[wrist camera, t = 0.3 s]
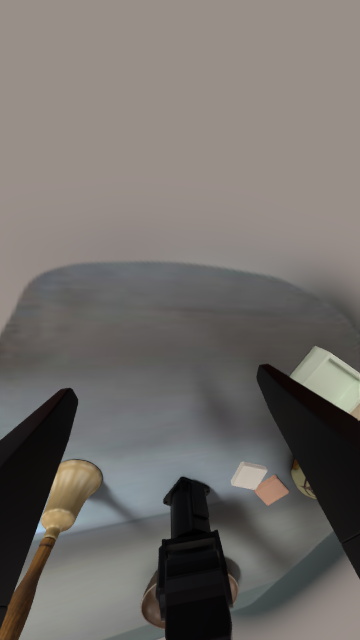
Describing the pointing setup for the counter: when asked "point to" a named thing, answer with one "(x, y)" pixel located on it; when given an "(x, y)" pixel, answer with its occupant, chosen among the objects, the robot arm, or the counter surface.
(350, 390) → the tray
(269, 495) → the tile terracotta
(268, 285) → the counter surface
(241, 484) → the tile white
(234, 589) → the plant saucer
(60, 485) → the hand bell
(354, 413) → the candle
